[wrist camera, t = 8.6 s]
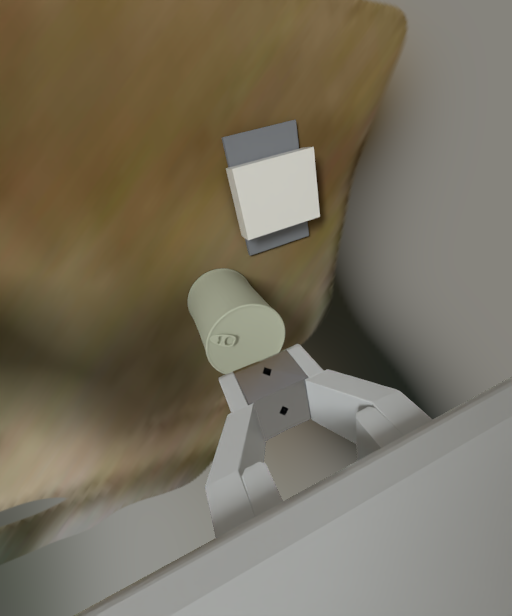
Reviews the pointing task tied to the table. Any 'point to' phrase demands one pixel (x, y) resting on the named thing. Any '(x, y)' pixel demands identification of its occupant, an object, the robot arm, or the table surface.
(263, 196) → the white box
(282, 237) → the mat
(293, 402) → the robot arm
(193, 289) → the pale green cylinder
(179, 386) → the table surface
